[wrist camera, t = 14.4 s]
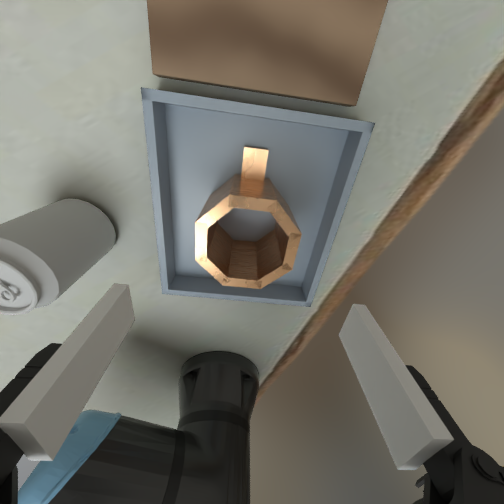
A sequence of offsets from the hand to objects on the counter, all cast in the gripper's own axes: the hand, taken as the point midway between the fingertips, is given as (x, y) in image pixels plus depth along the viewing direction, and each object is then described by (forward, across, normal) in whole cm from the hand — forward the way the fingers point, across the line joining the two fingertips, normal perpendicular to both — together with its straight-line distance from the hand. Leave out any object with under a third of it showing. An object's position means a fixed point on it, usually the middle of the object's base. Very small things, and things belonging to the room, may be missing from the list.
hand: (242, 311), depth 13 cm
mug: (+15, 0, -2) cm, 15 cm away
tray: (+16, 0, 0) cm, 16 cm away
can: (+16, +19, +3) cm, 25 cm away
